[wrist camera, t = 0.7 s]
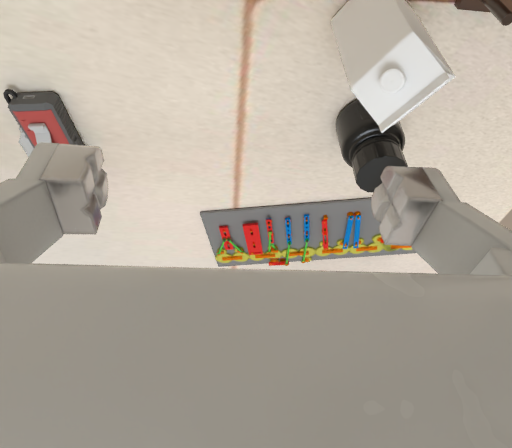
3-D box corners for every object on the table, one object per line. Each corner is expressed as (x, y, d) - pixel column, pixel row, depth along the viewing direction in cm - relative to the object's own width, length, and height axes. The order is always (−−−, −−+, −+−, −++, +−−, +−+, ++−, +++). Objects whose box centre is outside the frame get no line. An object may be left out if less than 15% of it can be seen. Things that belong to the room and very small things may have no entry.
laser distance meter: (-8, 85, 53) (56, 186, 69) (-22, 104, 50) (48, 204, 66) (54, 82, 53) (105, 184, 69) (44, 101, 50) (98, 202, 66)
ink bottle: (402, 129, 60) (423, 184, 52) (348, 152, 63) (361, 207, 56) (383, 81, 53) (405, 136, 46) (325, 110, 57) (336, 165, 49)
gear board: (218, 273, 88) (199, 220, 73) (218, 264, 90) (200, 211, 75) (418, 259, 84) (441, 201, 70) (415, 250, 86) (437, 191, 71)
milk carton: (413, 9, 46) (471, 101, 34) (366, 55, 50) (403, 150, 38) (376, -32, 42) (425, 53, 31) (329, 20, 47) (356, 113, 35)
